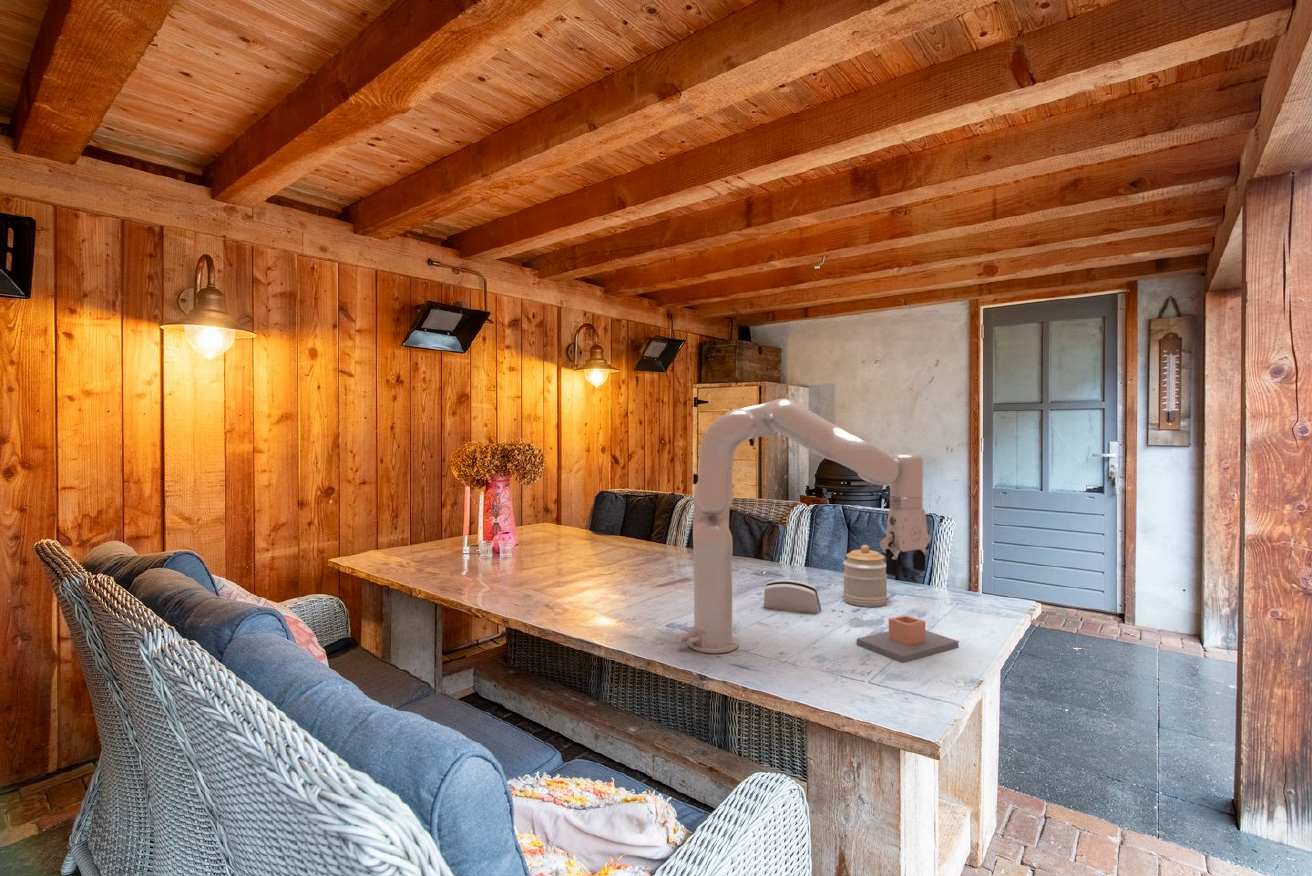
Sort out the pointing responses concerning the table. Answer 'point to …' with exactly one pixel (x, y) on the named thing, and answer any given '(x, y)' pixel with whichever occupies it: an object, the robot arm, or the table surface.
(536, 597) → the table surface
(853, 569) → the jar
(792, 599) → the half-round card holder
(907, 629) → the collar
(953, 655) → the table surface
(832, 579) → the table surface
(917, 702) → the table surface
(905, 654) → the post plate
